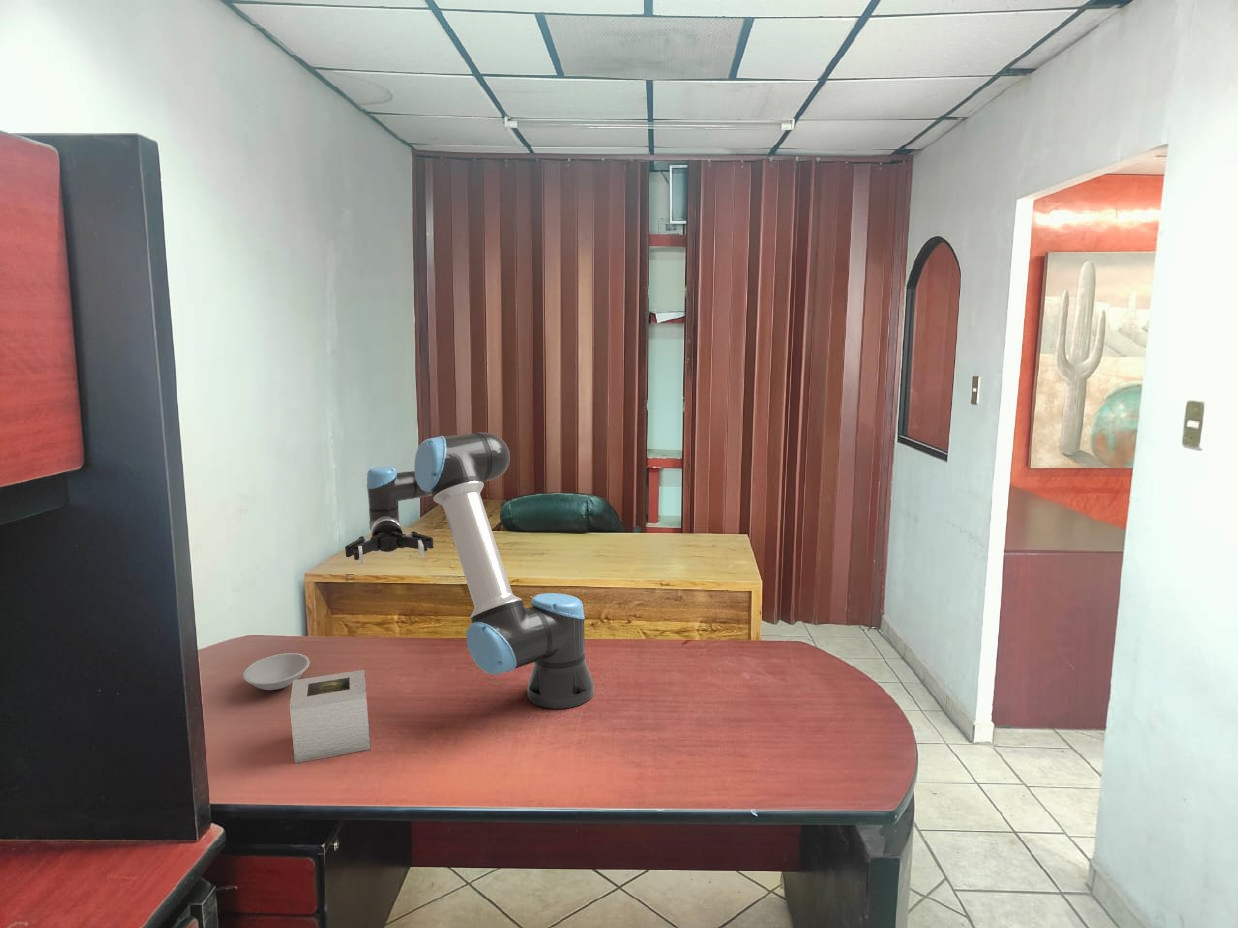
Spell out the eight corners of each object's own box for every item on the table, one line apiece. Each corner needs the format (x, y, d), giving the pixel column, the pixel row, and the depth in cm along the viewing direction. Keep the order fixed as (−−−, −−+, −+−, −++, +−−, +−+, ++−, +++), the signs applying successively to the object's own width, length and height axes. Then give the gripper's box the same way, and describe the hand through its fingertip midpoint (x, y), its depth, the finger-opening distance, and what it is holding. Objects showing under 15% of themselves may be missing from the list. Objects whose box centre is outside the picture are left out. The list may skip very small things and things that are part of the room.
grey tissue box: (368, 722, 168) (364, 669, 166) (370, 749, 157) (366, 693, 155) (298, 734, 163) (293, 680, 161) (295, 763, 152) (289, 705, 150)
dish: (257, 674, 193) (255, 655, 193) (317, 669, 196) (316, 650, 195) (235, 707, 176) (233, 686, 175) (302, 700, 179) (300, 680, 178)
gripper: (437, 543, 204) (448, 564, 185) (336, 553, 196) (336, 577, 177) (435, 515, 203) (446, 534, 183) (334, 524, 195) (333, 545, 175)
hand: (392, 555), depth 180 cm, fingers open, 13 cm apart
